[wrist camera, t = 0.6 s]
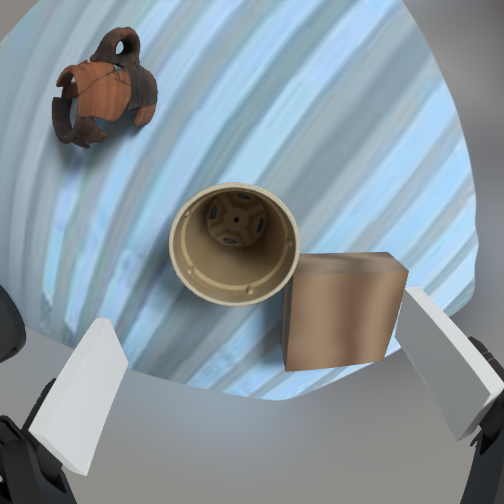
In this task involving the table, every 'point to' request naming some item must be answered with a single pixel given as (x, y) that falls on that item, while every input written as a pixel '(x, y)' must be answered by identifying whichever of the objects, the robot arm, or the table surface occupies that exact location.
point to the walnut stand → (340, 309)
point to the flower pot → (234, 244)
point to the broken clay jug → (104, 90)
